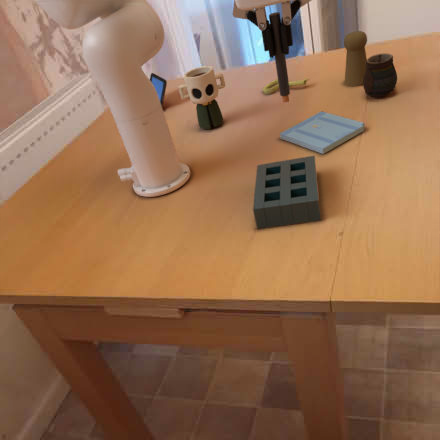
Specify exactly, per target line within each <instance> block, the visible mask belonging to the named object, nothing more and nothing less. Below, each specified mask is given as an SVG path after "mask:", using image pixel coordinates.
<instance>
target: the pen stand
mask: <svg viewBox="0 0 440 440" xmlns="http://www.w3.org/2000/svg"><path fill="white" fill-rule="evenodd" d="M252 212H253V215H254V221H255V225H256V229H257V230H260V229H267V228H274V227H282V226H291V225H297V224H304V223H305V224H306V223H313V222H319V221H322V216H321V205H320V194H319V183H318V173H317V164H316V156H315V155H309V156H308V155H307V156H303V157H298V158H292V159H284V160H279V161H274V162H268V163H267V162H266V163H261V164H257V165H256V174H255V184H254V196H253V207H252Z"/></svg>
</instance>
